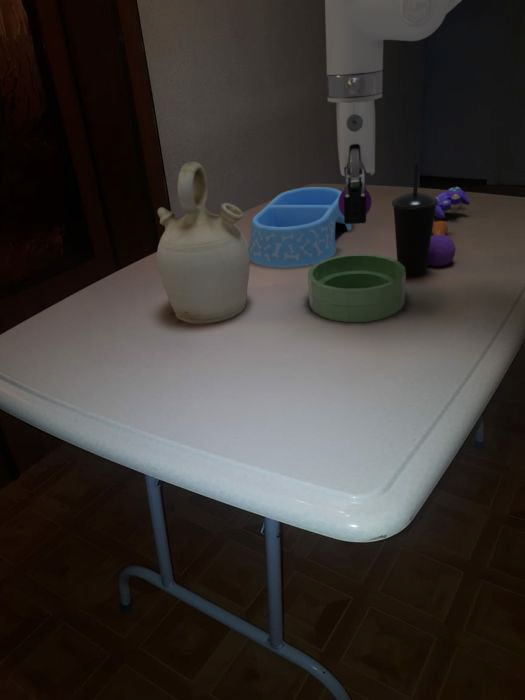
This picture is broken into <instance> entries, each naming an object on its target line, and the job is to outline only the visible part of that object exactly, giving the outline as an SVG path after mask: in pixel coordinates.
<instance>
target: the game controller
mask: <svg viewBox="0 0 525 700" xmlns="http://www.w3.org/2000/svg"><path fill="white" fill-rule="evenodd" d="M434 197H435V198H437V199H438V204H437V205H436V209H435V216H436V217H437V218H439V219H440V220H444V219H445V217H446V216H445V213H446V214H447V215H448V216H449V218H450V221H451V222H452V223H454V222H455V220H456V219H457V216H458V214H459V210H460V209H462V207H463V205H465V206H466V205H467V206H469V205H470V203H471V201H470V197H468V195H467V186H466V185H465V186H464V189H462V188H460V187H459V186H454V187H453V186H452V187H450V188H448V189H446V190H444V191H442V192H440V193H438V194H436V195H435V196H434ZM452 205H454V206H456V205H457V206H458V209H456V210H453V209H451V208H452ZM447 211H452V212H456V215H455V217H454V218H453V220H452V217H451V215H450V214H449V213H448V212H447Z"/></svg>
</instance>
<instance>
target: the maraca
mask: <svg viewBox="0 0 525 700" xmlns="http://www.w3.org/2000/svg"><path fill="white" fill-rule="evenodd" d="M448 230H449V226H448V224H447V223H446V222H445V221H443V220H438V221H434V222H433V228H432V235H431V241H430V248H429V254H428V261H427V266H433V267H434V268H435V267H438V268H440V267H444V266H447V265H449V264H450V263H451V262H452V261H453V260H454V257H455V256H456V245H455V242H454V240H453V239H452V238H451V237H450V236H448V235H447V233H448Z"/></svg>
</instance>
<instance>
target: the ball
mask: <svg viewBox="0 0 525 700" xmlns="http://www.w3.org/2000/svg"><path fill="white" fill-rule="evenodd" d="M341 192H342V193H341V195H340V197H339V200H338V206H339V210H340V212H341V213H342V215H343V216H344V196H346V189H345V188H344V190H343V191H341ZM365 195H366V215H368V213H369V212H370V210H371V208H372V196H371V194H370V192H369V191H368V190H367V189H365Z"/></svg>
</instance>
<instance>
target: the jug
mask: <svg viewBox="0 0 525 700" xmlns="http://www.w3.org/2000/svg"><path fill="white" fill-rule="evenodd" d="M207 177H208V176H207V173H206V170H205V168H204V167H203V165H201V164H200V163H199V162H197V161H188V162H186V163H184V164H183V165H182V166H181V168H180V170H179V173H178V178H177V197H178V202H179V205H180V207H181V209H182V211H184V212H185V215H184V216H181V217H176V215H175V212H174V211H171V210H168V209H166V208H165V207H164V206H163V207H162V206H161V207H159V208H158V209H157V216H158V218H159V219H160V220H159V224H160V225H162V226H164V231H163V233H162V235H161V236H160V239H159V243H158V245H157V251H156V269H157V273H158V274H159V279H160V280H161V283H162V286H163V288H164V291H165V294H166V296H167V299H168V301H169V303H170V307H171V308H172V309H173V312H174V315H175V317H176V318H177V319H179V320H181V321H183V322H185V323H189V324H211V323H212V324H213V323H217V322H218V323H219V322H222V321H226V320H229V319H231V318H233V317H235V316H237V315H239V314H240V313H242V312H243V311H244V309H245V308H246V302H247V299H248V298H247V297H248V286H249V280H250V263H251V260H250V256H249V245H248V242H247V239H246V238H245V236H244V234H243V233H242V231H241V229H240V228H239V227H238V226H237V225H236V222H238V221H240V220H241V219H243V217H244V213H243V211H242V210H241V209H240V208H239V207H237V206H236V205H235V204H233V203H229V202H223V203H221V204H220V211H219V212H220V213H219V214H215V213H212V212H210V211H209V210H208V209H207V208H206V204H207V201H208V191H209V187H208V186H209V185H208V178H207Z"/></svg>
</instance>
